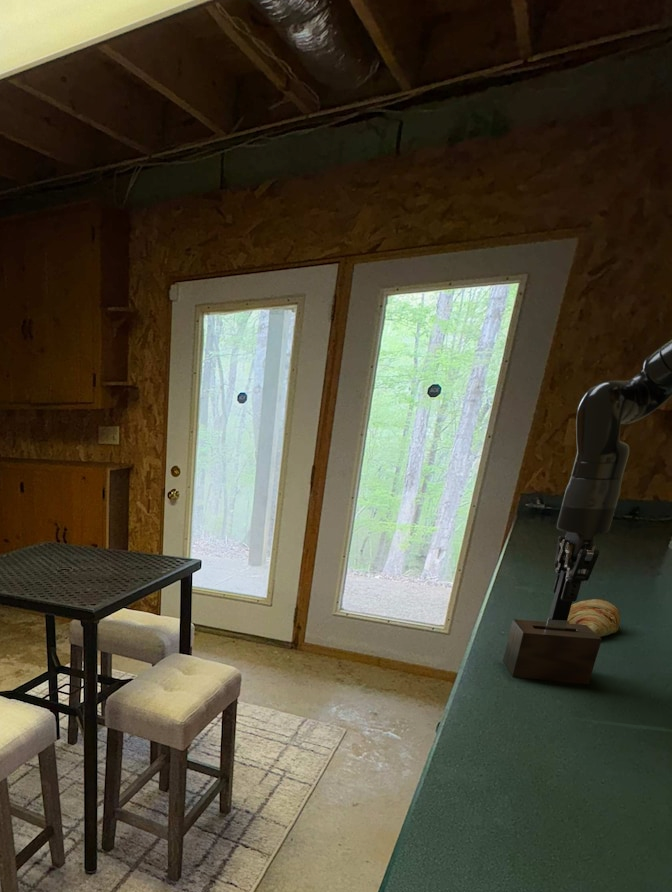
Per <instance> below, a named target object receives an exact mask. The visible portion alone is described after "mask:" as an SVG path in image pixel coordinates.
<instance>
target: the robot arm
mask: <svg viewBox="0 0 672 892" xmlns="http://www.w3.org/2000/svg"><path fill="white" fill-rule="evenodd" d="M670 398H672V338H670V339H668V340H667V341H665V342H664V343H663V344H661V345H660V346H658V347H657V348H656V349H655V350H653V351H652V352H651V353H650V354H648V356H647V357H646V358H645V360H644V362H643V364H642V370H641V371H639V372H638V373H636V374H635V375H634V376H632V377H630V378H629V379H627V380H606V381H602V382H599V383H597V384H595V385H593V386H592V387H591V388H589V390H587V392H586V393H585V394H584V395H583V396H582V398H581V400H580V402H579V405H578V407H577V411H576V419H575V427H576V428H575V430H576V431H575V432H576V433H575V434H576V435H575V436H576V437H575V438H576V450H577V451H576V456H575V459H574V463H573V466H572V470H571V475H570V478H569V480H568V482H567V483H568V484H567V486H566V487H565V491H564V495H563V499H562V503H561V507H560V511H559V514H558V518H557V521H556V529H557V530H559V531H561V532H566V534H565V535H561V536H560V535H559V536H558V538H557V545H556V550H555V557H554V563H553V567H554V568H555V573H556V576H555V581H554V585H553V588H552V593H553V594H555V592H556V588H557V584H558V580H559V577H560V573H561V571H567V574H566V580H565V584H564V588H563V591H562V595H561V599H562V600H563V601H569V602H572V603H573V602H576V601H577V600H578V596H579V592H580V590H581V585H582V583H583V582H588V581H589V580H590V578H591V574H592V573H593V570H594V567H595V565H596V562H597V560H598V558H599V555H600V550H599V549H596V543H595V537H596V536H597V535H598V534H601V535H602V534H606V533H608V532H609V531H610V529H611V527H612V523H613V519H614V516H615V512H616V508H617V506H618V501H619V498H620V494H621V488H622V481H623V477H624V473H625V471H626V470H625V469H626V466H627V463H628V459H629V456H630V446H629V444H628V443H626V442H624V441H621V439H620V437H621V426H626V425H630V424H633V423H636V422H638V421H640V420H642V419H643V418H645V417H647V416H649V415H650V414H651V413H653V412H655V411H656V410H657V409H658V408H659V407H661V406H662V405H664V403H665V402H667V401H668V400H669V399H670ZM577 572H578V573H579V574H578V573H577Z"/></svg>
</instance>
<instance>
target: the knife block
mask: <svg viewBox="0 0 672 892" xmlns="http://www.w3.org/2000/svg"><path fill="white" fill-rule="evenodd" d="M546 624H547V621H540V620H525V619H515V618H514V619H512V621H511V626H510V629H509V633H508V638H507V641H506V646H505V649H504V654H503V657H502V662H503V664H504V665H505V667H506V668H507V670H508V672H509V674H510V675H511V676H512V678H522V679H523V678H524V679H533V680H541V681H550V682H552V681H553V682H561V683H562V682H563V683H571V684H580V685H581V684H582V685H589V683H590V680H591V677H592V674H593V670H594V667H595V663H596V660H597V656H598V654H599V650H600V647H601V644H602V640H603V639H602V638H601V637H599V636H598V635H597V634H596V633H594V632H593V631H592V630H591V629H590V628H589V627H588V626H587V625H581V624H568V623H567V624H566V628H565V631H557V630H545V628H546Z"/></svg>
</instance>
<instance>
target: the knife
mask: <svg viewBox="0 0 672 892" xmlns="http://www.w3.org/2000/svg"><path fill="white" fill-rule="evenodd" d="M577 573H578V574H580V572H579V571H578V572H577ZM566 574H567V571H561V573H560V577H559V580H558V584H557V588H556V592H555V593H554V596H553V600H552V603H551V607H550V611H549V615H548V617H547V620H546V622H547V624H546V628H545V630H557V631H565V628H566V624H567V621H568V620H567V619H568V616H569V612H570V609H571V605H573V602H569V601H563V600H562V599H561V595H562V591H563V588H564V584H565V580H566Z"/></svg>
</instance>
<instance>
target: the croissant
mask: <svg viewBox="0 0 672 892" xmlns="http://www.w3.org/2000/svg"><path fill="white" fill-rule="evenodd" d="M619 611H620V610H618V608H617V607H616V606H615V605H614V604H613V603H611V602H609V601H607V600H606V599H600V598H591V599H584V600H581V601H577V602H575V603H572V605H571V609H570V612H569V616H568V619H567V620H568V621H567V623H568V624H581V625H587V626H588V627H589V628H590V629H591V630H592V631H593V632H594V633H596V634H597V635H598V636H599V637H600V638H601V637H605V636H609V635H611V634H615V633H617V632H618V630H619V627H620V623H621V617H620V616H621V614H620V612H619Z"/></svg>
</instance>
